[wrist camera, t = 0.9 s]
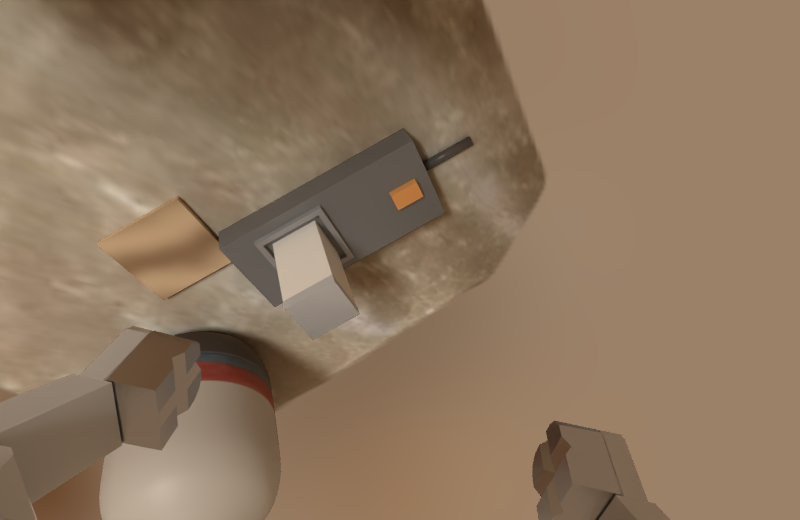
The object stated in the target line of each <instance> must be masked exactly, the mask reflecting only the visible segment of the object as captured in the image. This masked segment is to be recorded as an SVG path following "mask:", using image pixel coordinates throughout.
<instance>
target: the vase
mask: <svg viewBox="0 0 800 520" xmlns="http://www.w3.org/2000/svg"><path fill="white" fill-rule="evenodd" d="M175 336H177V337H181V338H185V339H189V340H193V341H196V342H198V343H199V344H200V353H201V355H200V356H199V358H198V359H197V361H196V363H197V365H198V366H199V367H200V369H201V382H200V387H199V390H198V392H197V395H196V398H195V400H194V402H193V403H192V405H191V406H190V408H189V410H187V411H185V412H183V413H182V414H180V415H178V416H177V419H178V427H177V428H176V430H175V431H174V433H173V434H172V436H171V437H170V439H169V440H168V442H167V443H166V445H165V446H164V448H163V449H162V451H161V450H156V449H151V448H145V447H140V446H135V445H130V444H125V443H122V446H120V447H119V448H117V449H116V450H114V451H113V452H111V453H109V454H108V455H106V456H105V460H104V466H103V471H102V478H101V485H100V499H99V500H100V512H101V517H102V520H264V519H265V518H266V517H267V515H268V514H269V512H270V510H271V508H272V506H273V504H274V502H275V499H276V495H277V492H278V488H279V483H280V474H281V463H280V451H279V443H278V435H277V427H276V420H275V412H274V405H273V398H272V391H271V385H270V380H269V376H268V373H267V370H266V367H265V365H264V363H263V362H262V360H261V358H260V357H259V356H258V354H257V353H256V352H255V351H254V350H253V349H252V348H251V347H250V346H248V345H247V344H246V343H244V342H243V341H241V340H239V339H237V338H235V337H232V336H229V335H225V334H221V333H215V332H190V333H184V334H179V335H175Z"/></svg>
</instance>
